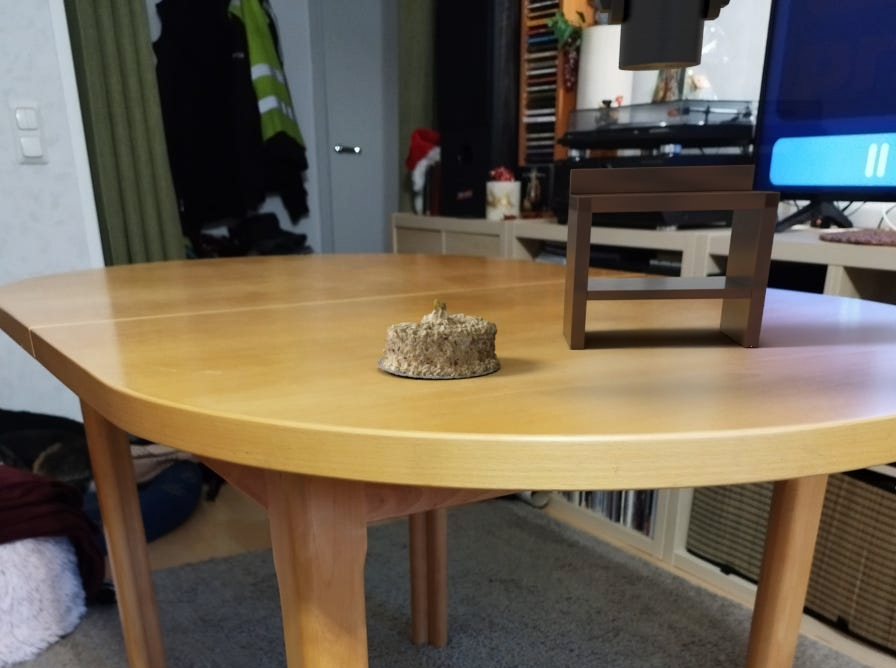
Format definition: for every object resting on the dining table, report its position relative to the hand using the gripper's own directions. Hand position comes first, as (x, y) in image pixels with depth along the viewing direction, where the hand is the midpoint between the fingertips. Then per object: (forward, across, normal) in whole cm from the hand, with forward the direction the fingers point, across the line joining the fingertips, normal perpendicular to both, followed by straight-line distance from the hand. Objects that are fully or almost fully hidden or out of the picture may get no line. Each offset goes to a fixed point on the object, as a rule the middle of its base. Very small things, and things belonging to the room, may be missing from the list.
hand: (663, 19), depth 54 cm
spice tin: (+2, 0, 0) cm, 2 cm away
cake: (+22, -14, +10) cm, 28 cm away
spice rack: (+22, +5, +23) cm, 32 cm away
